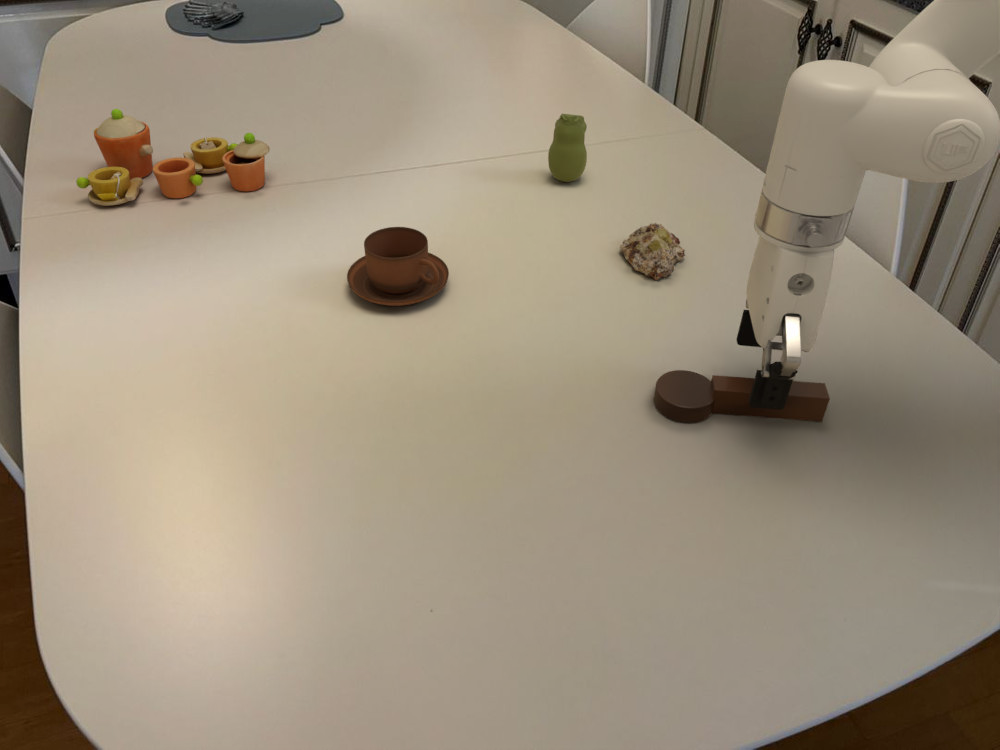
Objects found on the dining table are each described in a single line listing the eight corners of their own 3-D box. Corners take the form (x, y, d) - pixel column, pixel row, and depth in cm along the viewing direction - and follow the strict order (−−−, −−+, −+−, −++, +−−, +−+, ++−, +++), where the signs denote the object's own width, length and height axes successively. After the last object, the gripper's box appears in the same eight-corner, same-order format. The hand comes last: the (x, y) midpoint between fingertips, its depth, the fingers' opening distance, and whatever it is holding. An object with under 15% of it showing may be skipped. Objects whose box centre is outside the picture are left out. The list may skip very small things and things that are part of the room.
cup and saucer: (461, 269, 106) (461, 225, 102) (429, 322, 97) (427, 276, 93) (371, 255, 108) (367, 211, 104) (331, 305, 99) (326, 259, 95)
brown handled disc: (654, 421, 84) (658, 397, 82) (652, 382, 89) (655, 360, 87) (826, 434, 83) (833, 410, 81) (814, 394, 87) (821, 371, 86)
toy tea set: (79, 213, 116) (57, 146, 110) (94, 166, 128) (75, 102, 122) (275, 195, 121) (265, 130, 115) (272, 151, 133) (262, 89, 127)
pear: (544, 185, 125) (547, 118, 118) (551, 170, 129) (554, 105, 122) (582, 189, 124) (587, 123, 117) (587, 174, 128) (593, 109, 121)
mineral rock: (616, 220, 111) (678, 208, 110) (622, 248, 114) (683, 237, 112) (618, 265, 103) (685, 253, 101) (624, 295, 106) (690, 283, 104)
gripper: (872, 272, 65) (814, 437, 76) (827, 175, 79) (783, 326, 89) (772, 264, 66) (729, 430, 76) (744, 169, 79) (711, 321, 90)
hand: (758, 374), depth 83 cm, fingers open, 9 cm apart
